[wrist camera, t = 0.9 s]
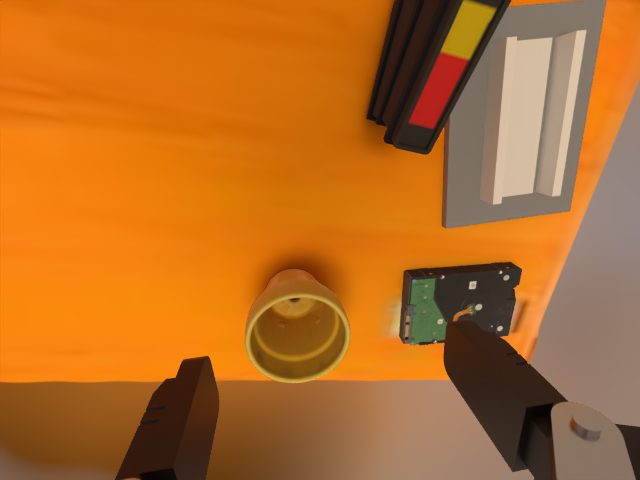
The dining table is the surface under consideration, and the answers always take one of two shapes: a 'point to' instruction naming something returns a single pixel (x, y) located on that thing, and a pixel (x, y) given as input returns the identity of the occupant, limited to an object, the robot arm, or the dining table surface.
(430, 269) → the disk drive
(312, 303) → the plant pot
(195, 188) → the dining table surface
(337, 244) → the dining table surface
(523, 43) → the rail board
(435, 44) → the magazine
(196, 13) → the dining table surface
